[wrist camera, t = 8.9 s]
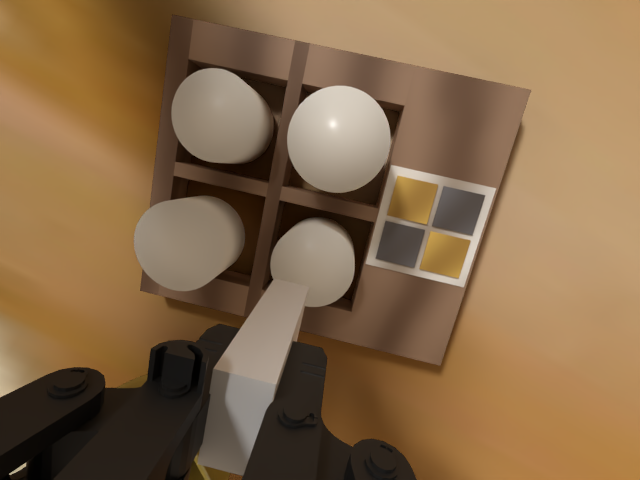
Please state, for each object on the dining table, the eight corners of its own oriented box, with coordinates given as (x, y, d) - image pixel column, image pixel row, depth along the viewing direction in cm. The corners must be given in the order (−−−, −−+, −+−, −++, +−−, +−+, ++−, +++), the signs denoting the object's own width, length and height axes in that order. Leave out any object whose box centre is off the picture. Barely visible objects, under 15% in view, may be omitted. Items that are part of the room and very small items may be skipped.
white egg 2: (165, 261, 25) (129, 279, 21) (175, 187, 24) (139, 190, 20) (238, 279, 25) (215, 300, 21) (251, 205, 24) (230, 212, 20)
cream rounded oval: (276, 277, 27) (263, 295, 23) (290, 209, 26) (279, 216, 22) (344, 294, 27) (343, 315, 23) (362, 226, 26) (363, 236, 22)
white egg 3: (291, 179, 23) (278, 180, 19) (308, 93, 22) (298, 75, 18) (371, 197, 23) (375, 202, 19) (393, 111, 22) (402, 97, 18)
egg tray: (157, 281, 29) (138, 291, 27) (188, 29, 25) (170, 12, 23) (433, 349, 28) (441, 367, 26) (513, 97, 24) (533, 88, 22)
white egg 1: (195, 155, 26) (166, 152, 22) (206, 78, 25) (177, 59, 21) (266, 171, 26) (250, 171, 22) (280, 94, 25) (266, 78, 21)
